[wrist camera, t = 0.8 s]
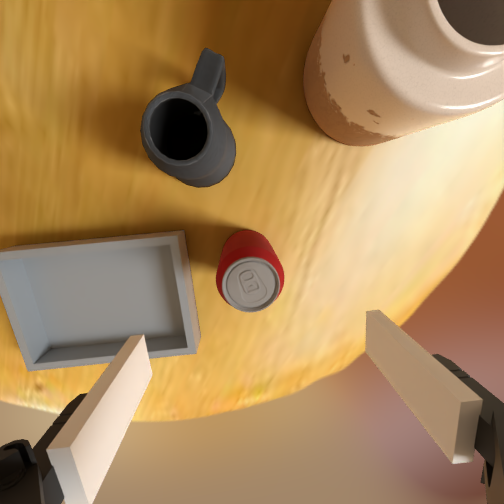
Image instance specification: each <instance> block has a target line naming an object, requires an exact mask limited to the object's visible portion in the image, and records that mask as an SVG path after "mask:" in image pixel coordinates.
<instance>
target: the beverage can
mask: <svg viewBox="0 0 504 504" xmlns="http://www.w3.org/2000/svg"><path fill="white" fill-rule="evenodd" d="M216 284H217V288H218V291H219V293H220V295H221V296H222V298H223V299H224V300H225V301H226V302H227V303H228V304H229V305H231V306H233V307H234V308H236V309H238V310H240V311H244V312H257V311H261V310H263V309H265V308H267V307H268V306H270V305H271V304H272V303H273V302H274V301H275V300H276V299H277V297H278V296H279V294H280V293H281V291H282V288H283V285H284V271H283V268H282V265H281V263H280V261H279V259H278V257H277V255H276V254H275V252H274V250H273V248H272V246H271V245H270V243H269V241H268V240H267V239H266V238H265V237H264V236H263V235H262V234H260V233H258V232H256V231H252V230H244V231H239V232H237V233H235V234H233V235H232V236H231V237H230V238H229V239H228V240H227V241H226V243H225V245H224V247H223V250H222V254H221V257H220V261H219V265H218V269H217V273H216Z"/></svg>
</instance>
